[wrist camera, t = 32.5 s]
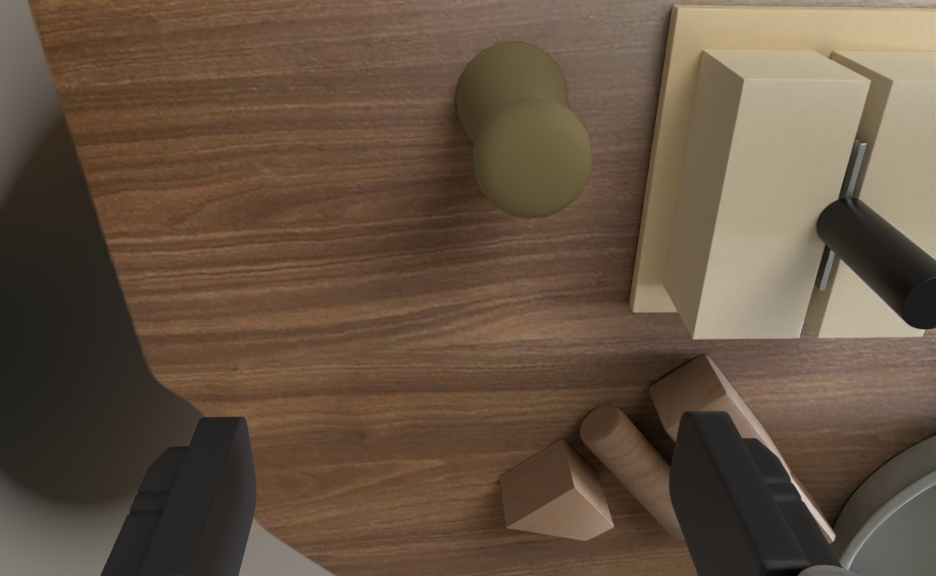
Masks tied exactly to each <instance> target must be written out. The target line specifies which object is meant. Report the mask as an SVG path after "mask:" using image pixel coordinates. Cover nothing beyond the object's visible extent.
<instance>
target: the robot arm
mask: <svg viewBox="0 0 936 576" xmlns="http://www.w3.org/2000/svg"><path fill="white" fill-rule="evenodd" d="M669 491H670V498H671V503H672V506H673V509H674V512H675V515H676V517H677V520H678V522H679V525H680V528H681V530H682V533H683V536H684V538H685V541H686V544H687V546H688V549H689V552H690V554H691V557H692V560H693V562H694V565H695V567H696V570H697V573H698V575H699V576H860V575H858V574H856V573H854V572H852V571H849V570H847V569H844V568H843V567H842V566H841V564H840V562H839V560H838V559H837V557H836V555H835V554H834V552H833V550H832V548H831V547H830V545H829V543H828V542H827V540H826V538H825V536H824V535H823V533H822V531H821V530H820V528H819V526H818V524H817V523H816V521H815V519H814V518H813V516H812V514H811V512H810V511H809V509H808V507H807V505H806V504H805V502H802V500H801V495H800V493H799V492H798V490H797V488H796V487H795V485H794V483H791V478H790V476H789V475H788V473H787V471H786V469H785V468H784V466H783V464H782V463H781V461H780V459H779V457H778V456H776V455H775V454H774V453H773V452H772V451H771V450H769V449H768V448H767V447H766V446H765V445H764V444H763V443H761V442H760V441H759V440H758V439H757V438H742V437H741V435H740V433H739V432H738V430H737V428H736V426H735V424H734V422H733V420H732V419H731V417H730V415H729V414H728V413H727V412H726V411H685V412H684V413H683V414H682V416H681V419H680V423H679V428H678V433H677V438H676V443H675V448H674V453H673V458H672V463H671V468H670V474H669ZM255 505H256V478H255V472H254V465H253V459H252V452H251V446H250V440H249V433H248V427H247V422H246V420H245V418H244V417H203V418H201V419H200V420H199V422H198V424H197V427H196V429H195V432H194V434H193V437H192V439H191V442H190V444H189V446H187V447H186V446H185V447H169V448H168V449H167V450H166V451H165V452H164V453H163V454H162V455H161V456H160V457H159V458H158V459H157V460H156V461H155V462H154V463H153V464H152V465H151V466H150V467H149V468H148V470H147V472H146V475H145V477H144V479H143V481H142V484H141V486H140V488H139V490H138V495H136V497H135V499H134V502H133V504H132V506H131V509H130V514H129V515H127V517H126V520H125V522H124V524H123V526H122V529H121V531H120V533H119V535H118V538H117V540H116V542H115V544H114V547H113V549H112V551H111V553H110V556H109V558H108V560H107V562H106V565H105V567H104V569H103V571H102V573H101V576H238V575H239V571H240V567H241V563H242V559H243V555H244V552H245V548H246V544H247V540H248V536H249V532H250V528H251V524H252V520H253V516H254V512H255Z"/></svg>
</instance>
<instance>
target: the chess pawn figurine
mask: <svg viewBox="0 0 936 576" xmlns="http://www.w3.org/2000/svg"><path fill="white" fill-rule="evenodd" d="M456 105H457V114H458V116H459V118H460V121H461V123H462V125H463V127H464V129H465V131H466V133H467V134H468V136H469V137H470V139H471V141H472V142H473V144H474V150H473V164H474V174H475V178H476V180H477V182H478V185H479V187H480V189H481V191H482V193H483V194H484V195H485V196H486V197H487V198H488V199H489V200H490V201H491V202H492V203H493V204H494V205H495V206H496V207H497V208H499V209H501V210H502V211H504V212H506V213H508V214H510V215H512V216H517V217H523V218H528V219H530V218H539V217H547V216H549V215H552V214H554V213H556V212H559V211H561V210H563V209H564V208H566V207H567V206H568V205H569V204H571V203H572V202H573V201H574V200H576V199H577V197H578V196H579V194H580V193H581V192H582V190H583V189H584V187H585V186H586V184H587V181H588V178H589V175H590V172H591V169H592V144H591V142H590V139H589V136H588V134H587V131H586V128H585V127H584V125H583V124H582V123H581V122H580V120H579V119H578V118H577V117H576V116H575V114H574V113H573V112H572V111H571V110H569V105H568V96H567V87H566V83H565V80H564V77H563V74H562V72H561V69H560V67H559V66H558V65H557V64H556V63H555V61H554V60H553V59H552V58H551V56H550V55H549V54H547V53H545V52H544V51H542V50H540V49H539V48H537V47H536V46H533V45H529V44H524V43H520V42H511V43H501V44H497V45H495V46H493V47H490V48H488V49H486V50H484V51H482V52H481V53H480V54H478V55H477V56H476V57H475V58H474V59H473V60H472V61H471V62H470V63H469V64H468V65H467V67H466V69H465V70H464V72H463V74H462V76H461V77H460V79H459V83H458V88H457V93H456Z"/></svg>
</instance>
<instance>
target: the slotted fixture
mask: <svg viewBox="0 0 936 576" xmlns="http://www.w3.org/2000/svg"><path fill="white" fill-rule="evenodd" d="M855 137H857V138H858V139H860V140H861V141H863V142H864V143H866V144H867V145H866V149H865V152H864V156H863V159H862V163H861V166H860V170H859V173H858V176H857V180H856V183H855V187H854V190H853V194H852V197H851V198H856V199H859V200H861V201H862V202H864V203H865V204H866V205H867V206H869V207H870V208H871V209H872V210H874V211H875V212H876V213H877V214H879V215H880V216H881V217H882V218H884V219H885V220H886V221H887V222H889V223H890V224H891V225H892V226H894V227H895V228H896V229H897V230H899V231H900V232H901V233H902V234H904V235H905V236H906V237H907V238H909V239H910V240H911V241H912V242H914V243H915V244H916V245H917V246H919V247H920V248H921V249H922V250H924V251H925V252H926V253H927V254H929V255H930V256H931V257H932V258H933V259H935V260H936V8H873V7H800V6H727V5H673V6H672V13H671V19H670V26H669V33H668V40H667V47H666V54H665V61H664V68H663V74H662V81H661V88H660V95H659V102H658V109H657V116H656V123H655V129H654V136H653V143H652V150H651V157H650V164H649V171H648V178H647V184H646V191H645V198H644V205H643V212H642V219H641V226H640V233H639V239H638V246H637V253H636V260H635V267H634V274H633V281H632V288H631V294H630V301H629V306H630V308H631V310H632V312H633V313H661V312H678V314H679V315H680V317H681V319H682V321H683V323H684V325H685V326H686V328H687V330H688V332H689V334H690V335H691V337H692V339H783V338H799V336H800V333H801V329H802V325H803V322H805V323H806V324H807V326H808V327H809V328H810V329H811V331H812V332H813V333H814V334H815V336H816V337H817V338H878V337H922V335H923V332H924V330H923V329H916V328H913V327H911V326H909V325H908V324H907V323H906V322H904V321H903V320H902V319H901V318H900V317H899V316H898V315H897V314H896V313H895V312H894V311H893V310H892V309H891V308H890V307H889V306H888V305H887V304H886V303H885V302H884V301H883V300H882V299H881V298H880V297H879V296H878V295H877V294H876V293H875V292H874V291H873V290H872V289H871V288H870V287H869V286H868V285H867V284H866V283H865V282H864V281H863V280H862V279H861V278H860V277H859V276H858V275H857V274H856V273H855V272H854V271H853V270H852V269H851V268H850V267H849V266H847V265H846V264H845V263H844V262H843V261H842V260H841V259H840V258H839V257H838V256H837V255H836V254H835V256H834V259H833V263H832V266H831V270H830V273H829V277H828V280H827V284H826V287H825V290H823V291H820V290H818V288H817V287H816V286H815V285H814V283H815V279H816V275H817V272H818V268H819V265H820V261H821V258H822V254H823V250H824V247H825V243H824V242H823V241H822V240H821V239H820V238H819V236H818V234H817V228H816V227H817V221H818V218H819V216H820V214H821V213H822V211H823V210H824V209H825V208H826V207H827V206H828V205H829V204H831V203H832V202H834V201H836V200H838V197H839V193H840V190H841V186H842V183H843V179H844V175H845V172H846V168H847V165H848V161H849V158H850V154H851V150H852V147H853V143H854V140H855Z"/></svg>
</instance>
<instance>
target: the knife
mask: <svg viewBox="0 0 936 576" xmlns="http://www.w3.org/2000/svg"><path fill="white" fill-rule="evenodd" d="M866 145H867V144H866V143H864V142H863V141H861V140H860V139H858V138H857V137H855V140H854V143H853V147H852V150H851V154H850V158H849V161H848V165H847V168H846V172H845V175H844V179H843V183H842V186H841V190H840V193H839V197H838V200H836V201H834V202H832V203H831V204H829V205H828V206H827V207H826V208H825V209H824V210H823V211H822V213H821V214H820V216H819V218H818V221H817V227H816V228H817V234H818V236H819V238H820V239H821V240H822V241H823V242H824V243H825V247H824V250H823V254H822V258H821V261H820V265H819V268H818V272H817V275H816V279H815V283H814V285H815V286H816V287H817V288H818V290H820V291H823V290H825V287H826V284H827V280H828V277H829V273H830V270H831V266H832V263H833V259H834V256H835V254H836V255H837V256H838V257H839V258H840V259H841V260H842V261H843V262H844V263H845V264H846V265H847V266H849V267H850V268H851V269H852V270H853V271H854V272H855V273H856V274H857V275H858V276H859V277H860V278H861V279H862V280H863V281H864V282H865V283H866V284H867V285H868V286H869V287H870V288H871V289H872V290H873V291H874V292H875V293H876V294H877V295H878V296H879V297H880V298H881V299H882V300H883V301H884V302H885V303H886V304H887V305H888V306H889V307H890V308H891V309H892V310H893V311H894V312H895V313H896V314H897V315H898V316H899V317H900V318H901V319H902V320H903V321H904V322H906V323H907V324H908V325H909V326H911V327H913V328H916V329H923V330H925V329H933V328H936V260H935V259H933V258H932V257H931V256H930V255H929V254H927V253H926V252H925V251H924V250H922V249H921V248H920V247H919V246H917V245H916V244H915V243H914V242H912V241H911V240H910V239H909V238H907V237H906V236H905V235H904V234H902V233H901V232H900V231H899V230H897V229H896V228H895V227H894V226H892V225H891V224H890V223H889V222H887V221H886V220H885V219H884V218H882V217H881V216H880V215H879V214H877V213H876V212H875V211H874V210H872V209H871V208H870V207H869V206H867V205H866V204H865V203H864V202H862V201H861V200H859V199H856V198H851V197H852V194H853V190H854V187H855V183H856V180H857V176H858V173H859V170H860V166H861V163H862V159H863V156H864V152H865V149H866Z"/></svg>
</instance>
